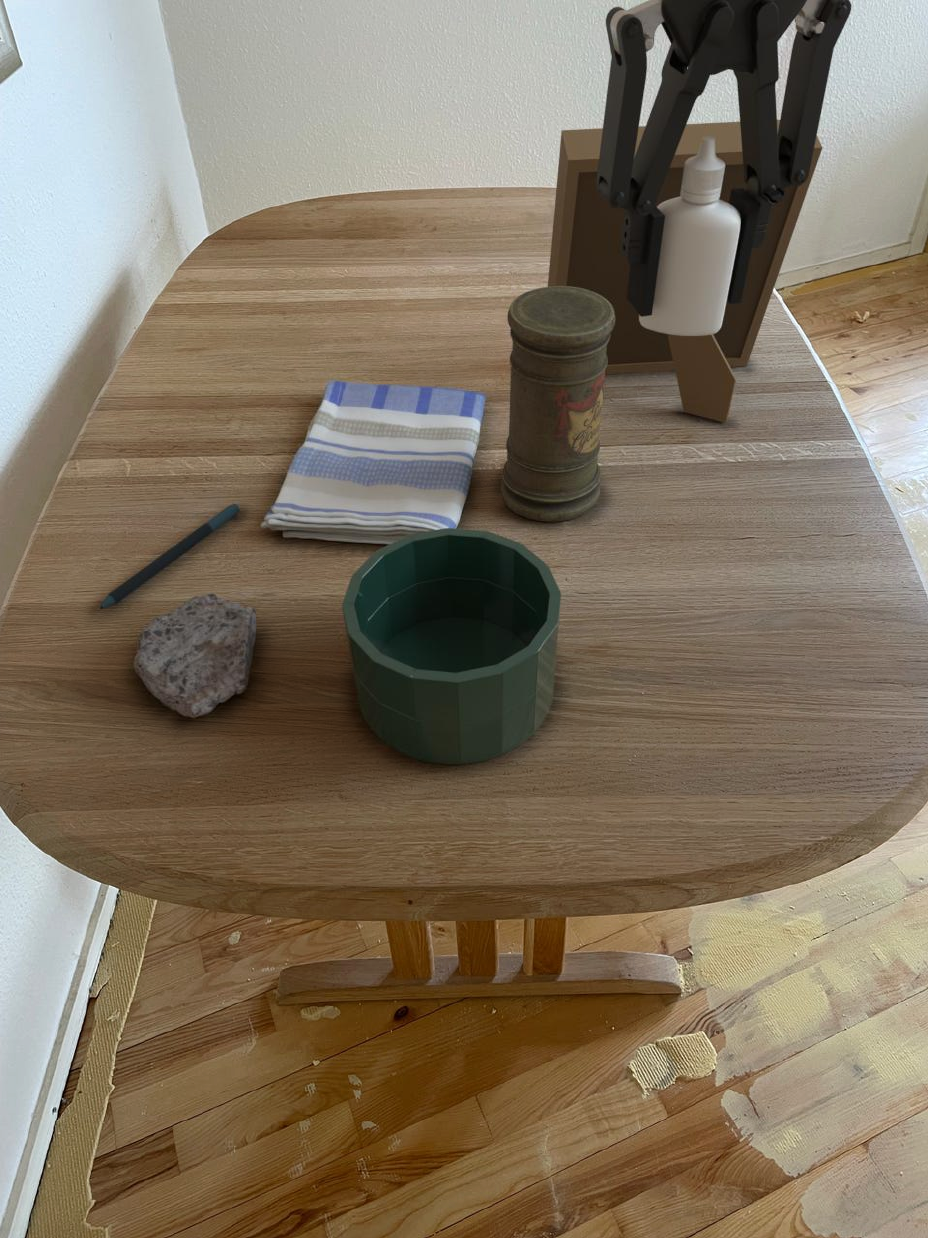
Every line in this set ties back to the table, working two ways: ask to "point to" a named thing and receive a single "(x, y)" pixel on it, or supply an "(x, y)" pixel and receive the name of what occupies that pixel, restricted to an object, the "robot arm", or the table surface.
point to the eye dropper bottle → (695, 251)
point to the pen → (169, 556)
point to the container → (556, 401)
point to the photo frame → (597, 265)
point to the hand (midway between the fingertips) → (683, 299)
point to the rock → (197, 654)
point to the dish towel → (381, 464)
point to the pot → (453, 644)
